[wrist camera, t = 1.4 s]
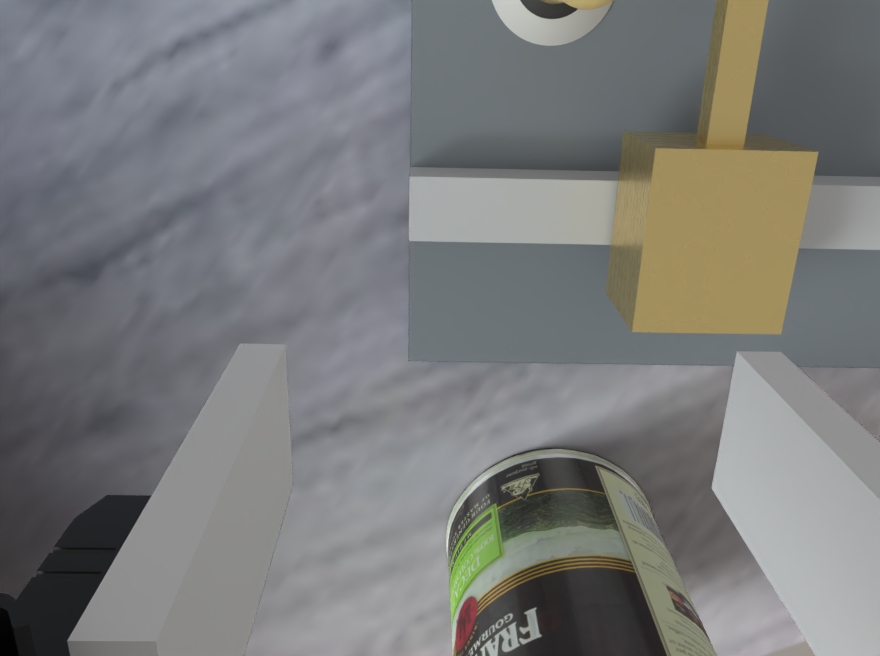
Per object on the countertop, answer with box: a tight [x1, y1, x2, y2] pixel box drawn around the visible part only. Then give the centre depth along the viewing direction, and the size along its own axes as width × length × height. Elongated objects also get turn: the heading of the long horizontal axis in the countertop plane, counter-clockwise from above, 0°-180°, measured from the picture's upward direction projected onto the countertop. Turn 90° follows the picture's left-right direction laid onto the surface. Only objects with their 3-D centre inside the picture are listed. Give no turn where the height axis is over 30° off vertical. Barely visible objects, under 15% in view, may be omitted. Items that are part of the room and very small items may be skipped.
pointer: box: [605, 0, 818, 335], centre depth 25 cm, size 5×12×6 cm, turn 179°
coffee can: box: [446, 449, 717, 656], centre depth 31 cm, size 10×10×14 cm
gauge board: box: [408, 0, 880, 368], centre depth 26 cm, size 26×18×9 cm
